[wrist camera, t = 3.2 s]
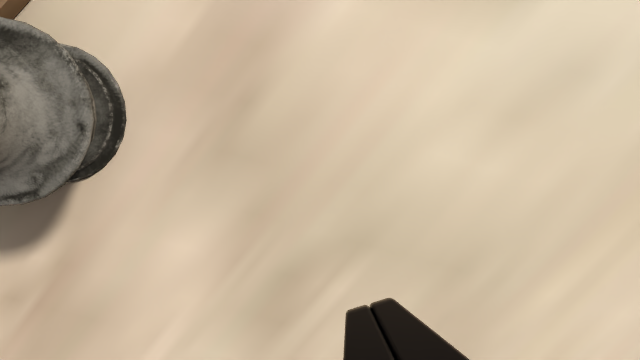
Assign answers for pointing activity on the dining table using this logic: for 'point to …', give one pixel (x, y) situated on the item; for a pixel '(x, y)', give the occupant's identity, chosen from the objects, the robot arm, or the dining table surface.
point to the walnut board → (11, 8)
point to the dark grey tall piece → (52, 114)
